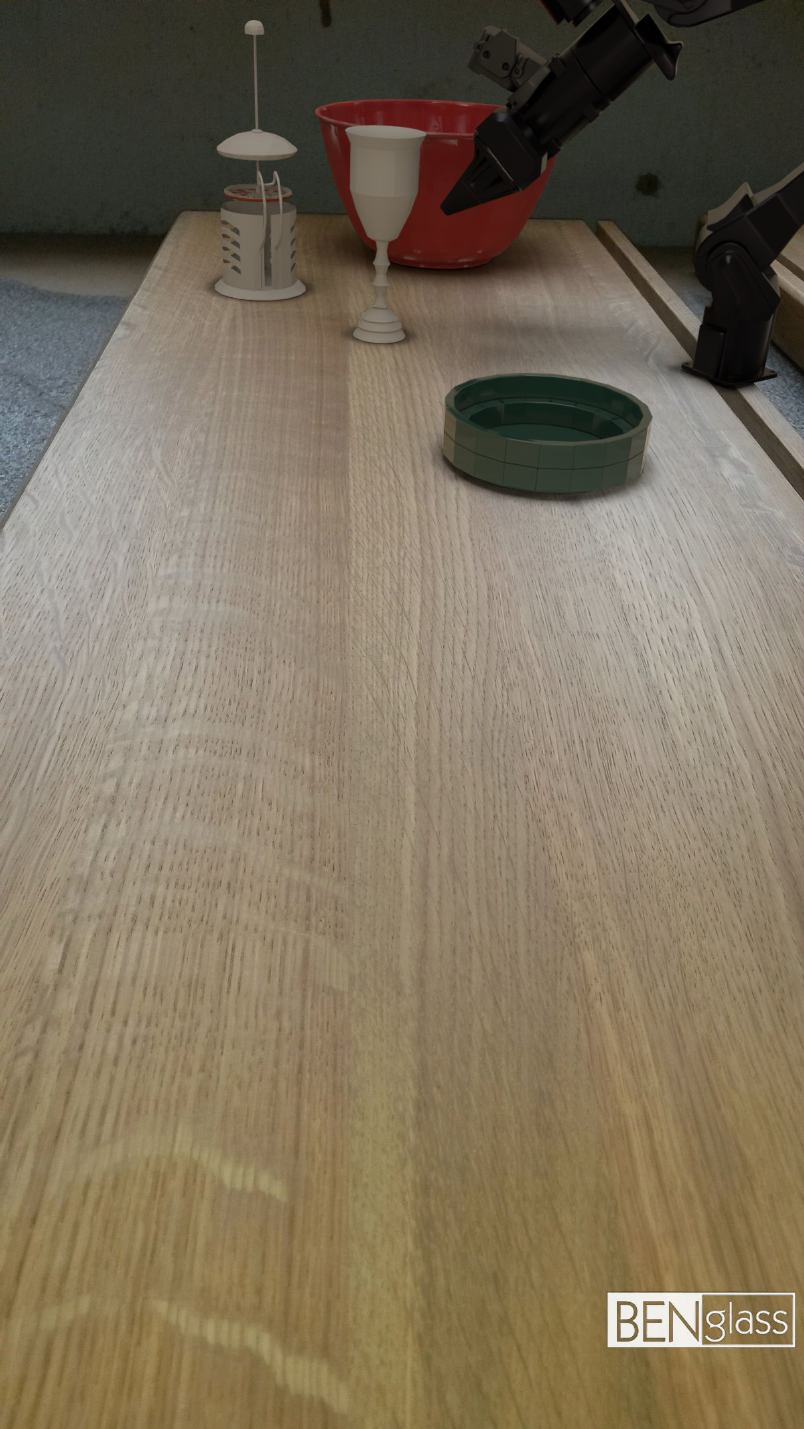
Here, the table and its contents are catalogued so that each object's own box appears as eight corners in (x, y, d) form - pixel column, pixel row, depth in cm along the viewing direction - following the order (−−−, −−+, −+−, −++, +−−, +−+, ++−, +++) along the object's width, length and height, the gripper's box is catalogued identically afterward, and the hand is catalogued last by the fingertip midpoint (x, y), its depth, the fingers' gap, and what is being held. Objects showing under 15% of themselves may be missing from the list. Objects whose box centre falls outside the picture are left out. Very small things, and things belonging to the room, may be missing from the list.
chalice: (425, 330, 120) (436, 130, 110) (403, 350, 114) (412, 141, 104) (356, 320, 122) (360, 122, 112) (331, 339, 116) (333, 133, 106)
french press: (293, 274, 136) (291, 16, 122) (321, 302, 127) (322, 27, 113) (206, 277, 133) (193, 14, 119) (227, 307, 124) (217, 26, 110)
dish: (550, 411, 102) (556, 361, 100) (685, 473, 92) (695, 420, 90) (402, 445, 95) (404, 392, 92) (531, 517, 84) (537, 460, 82)
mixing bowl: (338, 221, 158) (340, 89, 150) (557, 238, 156) (572, 104, 147) (292, 275, 135) (291, 122, 126) (549, 296, 132) (566, 141, 124)
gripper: (546, -15, 107) (417, 112, 115) (514, -4, 92) (368, 142, 100) (622, 91, 110) (492, 209, 118) (603, 120, 95) (455, 252, 103)
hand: (453, 201), depth 110 cm, fingers open, 9 cm apart
